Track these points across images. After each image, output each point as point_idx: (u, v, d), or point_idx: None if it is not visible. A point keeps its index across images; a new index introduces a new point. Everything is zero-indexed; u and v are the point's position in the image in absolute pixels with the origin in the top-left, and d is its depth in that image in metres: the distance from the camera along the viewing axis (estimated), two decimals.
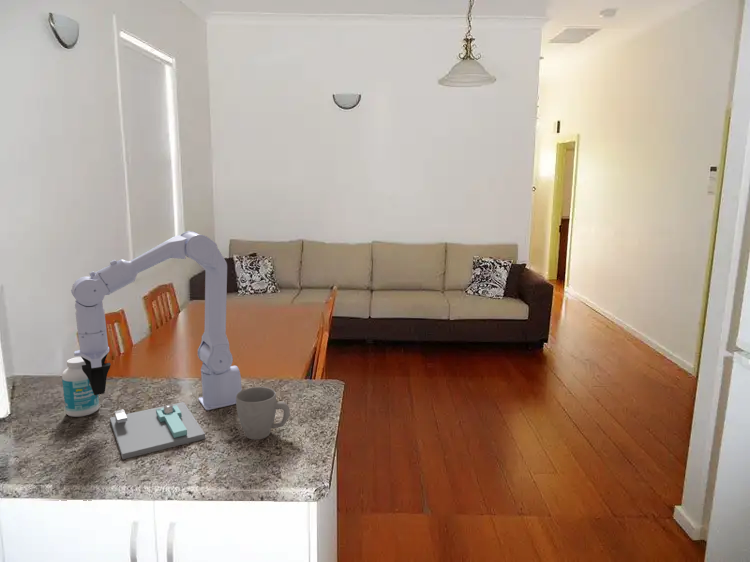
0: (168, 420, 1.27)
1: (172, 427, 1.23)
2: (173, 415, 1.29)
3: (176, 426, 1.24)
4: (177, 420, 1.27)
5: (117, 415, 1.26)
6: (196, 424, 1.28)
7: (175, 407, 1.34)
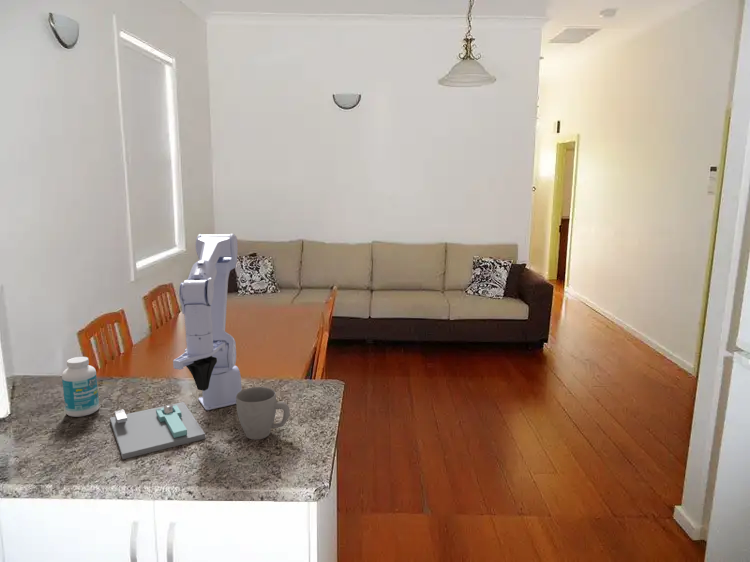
0: (168, 420, 1.27)
1: (172, 427, 1.23)
2: (173, 415, 1.29)
3: (176, 426, 1.24)
4: (177, 420, 1.27)
5: (117, 415, 1.26)
6: (196, 424, 1.28)
7: (175, 407, 1.34)
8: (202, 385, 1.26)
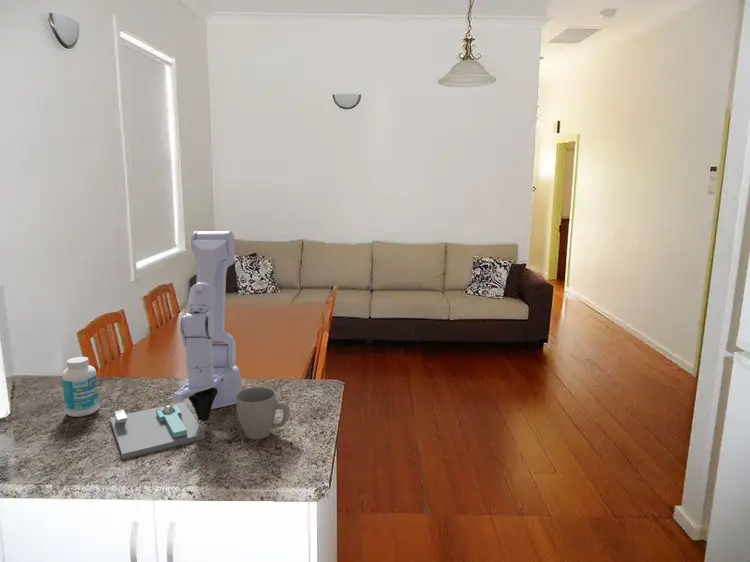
0: (168, 420, 1.27)
1: (172, 427, 1.23)
2: (173, 415, 1.29)
3: (176, 426, 1.24)
4: (177, 420, 1.27)
5: (117, 415, 1.26)
6: (196, 424, 1.28)
7: (175, 407, 1.34)
8: (203, 416, 1.27)
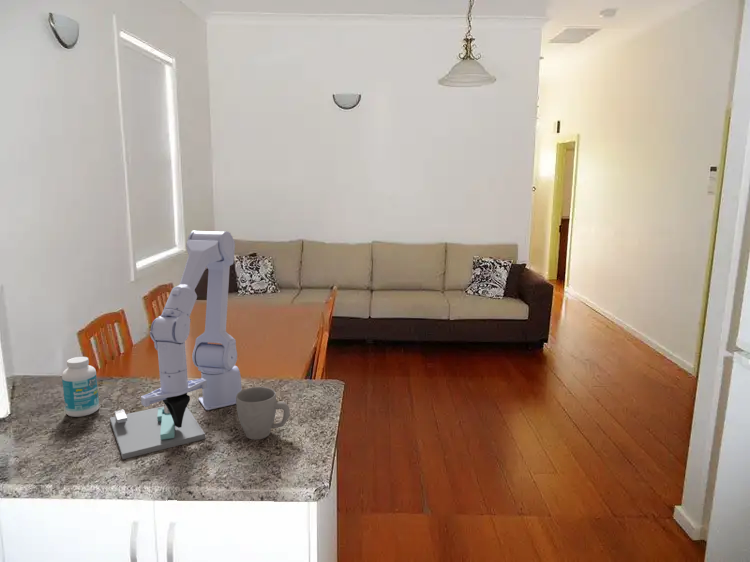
0: (162, 421, 1.26)
1: (162, 428, 1.23)
2: (170, 416, 1.29)
3: (166, 428, 1.23)
4: (170, 422, 1.26)
5: (117, 415, 1.26)
6: (196, 424, 1.28)
7: None
8: (177, 422, 1.24)
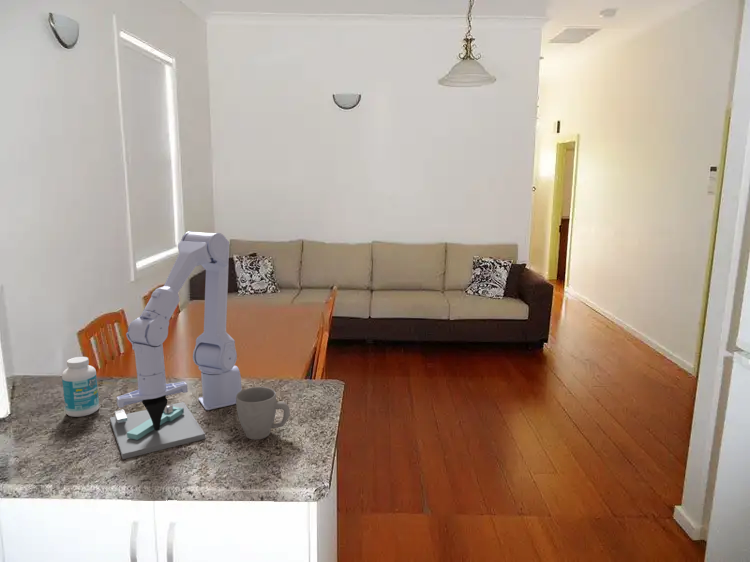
0: (149, 419, 1.27)
1: (136, 427, 1.23)
2: None
3: (140, 427, 1.23)
4: None
5: (117, 415, 1.26)
6: (196, 424, 1.28)
7: (178, 410, 1.32)
8: (154, 425, 1.23)
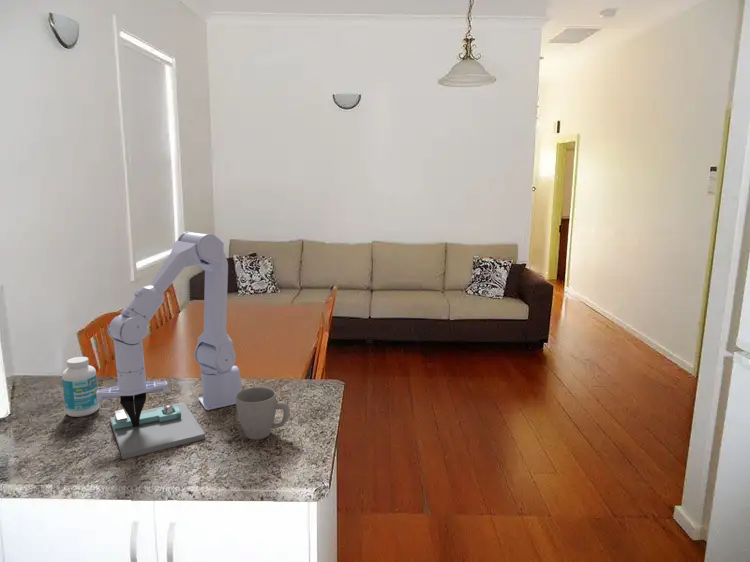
0: (144, 413, 1.30)
1: None
2: (154, 414, 1.30)
3: None
4: (140, 417, 1.28)
5: (117, 415, 1.26)
6: (196, 424, 1.28)
7: (175, 412, 1.31)
8: (131, 421, 1.25)
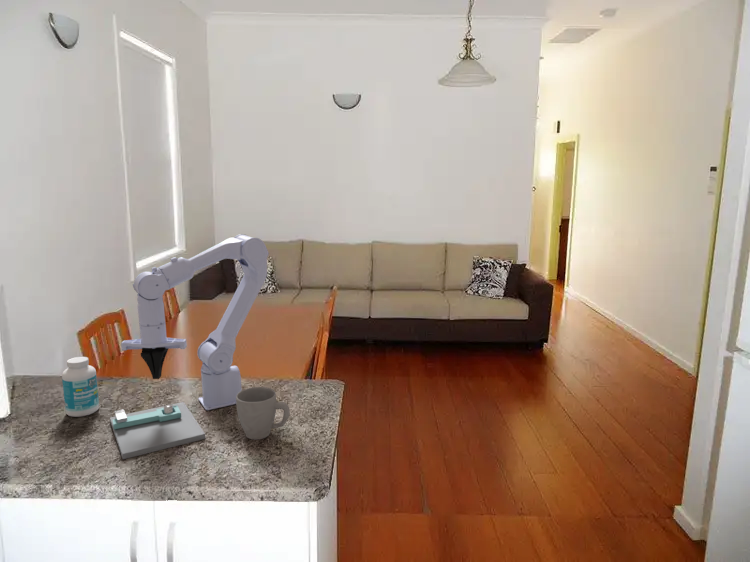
0: (144, 413, 1.30)
1: None
2: (154, 414, 1.30)
3: None
4: (140, 417, 1.28)
5: (117, 415, 1.26)
6: (196, 424, 1.28)
7: (175, 412, 1.31)
8: None
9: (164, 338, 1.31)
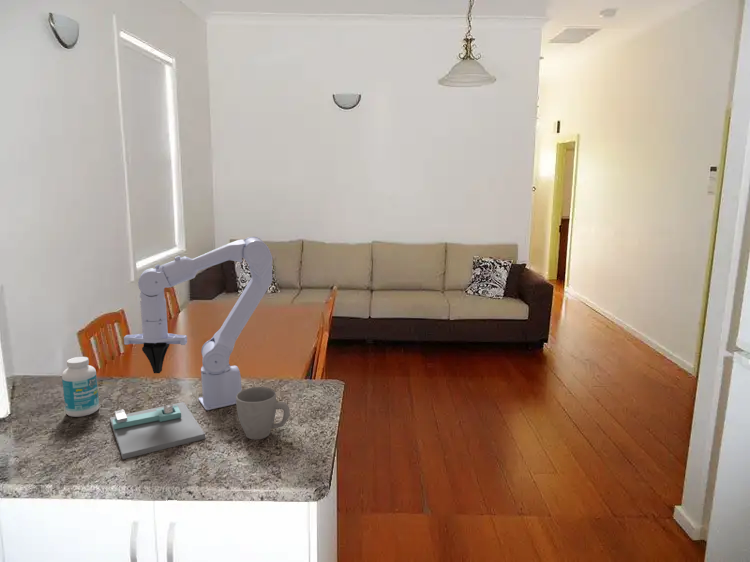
0: (144, 413, 1.30)
1: None
2: (154, 414, 1.30)
3: None
4: (140, 417, 1.28)
5: (117, 415, 1.26)
6: (196, 424, 1.28)
7: (175, 412, 1.31)
8: None
9: (165, 334, 1.34)
